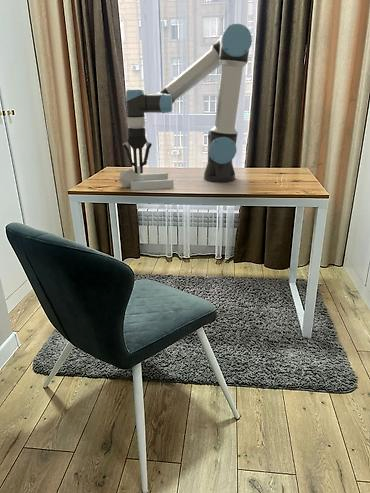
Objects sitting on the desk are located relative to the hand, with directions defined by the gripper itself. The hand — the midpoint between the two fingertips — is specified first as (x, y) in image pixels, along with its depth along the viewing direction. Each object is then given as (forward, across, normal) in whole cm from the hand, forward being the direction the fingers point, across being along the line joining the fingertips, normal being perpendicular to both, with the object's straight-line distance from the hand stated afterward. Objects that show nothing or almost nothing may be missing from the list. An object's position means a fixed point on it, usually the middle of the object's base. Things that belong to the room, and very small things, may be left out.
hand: (139, 180), depth 183 cm
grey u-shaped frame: (+2, -5, 0) cm, 6 cm away
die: (+2, +5, +2) cm, 5 cm away
